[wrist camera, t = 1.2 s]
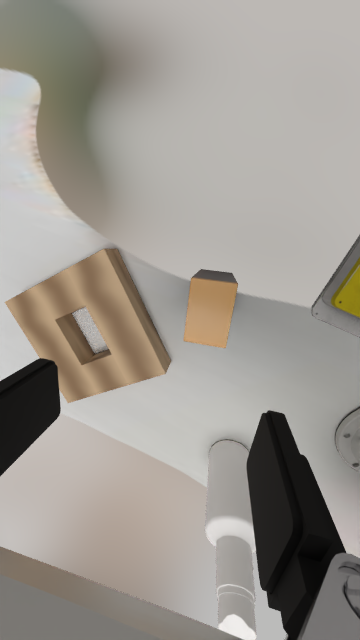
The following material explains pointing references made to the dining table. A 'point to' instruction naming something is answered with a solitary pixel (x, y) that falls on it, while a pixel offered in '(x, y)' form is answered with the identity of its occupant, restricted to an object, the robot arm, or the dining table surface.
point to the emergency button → (342, 294)
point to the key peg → (210, 308)
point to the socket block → (110, 318)
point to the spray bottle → (232, 537)
